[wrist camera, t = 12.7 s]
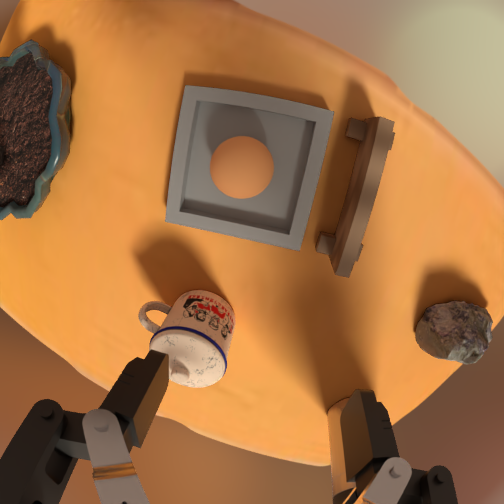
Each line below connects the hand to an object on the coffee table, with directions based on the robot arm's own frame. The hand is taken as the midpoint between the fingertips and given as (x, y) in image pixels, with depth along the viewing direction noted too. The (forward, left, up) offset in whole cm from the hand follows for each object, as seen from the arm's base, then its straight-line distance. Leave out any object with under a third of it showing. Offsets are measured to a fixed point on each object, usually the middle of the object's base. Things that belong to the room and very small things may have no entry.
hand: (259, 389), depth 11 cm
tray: (+7, +1, -23) cm, 24 cm away
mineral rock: (-21, -22, -23) cm, 38 cm away
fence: (+1, -9, -23) cm, 25 cm away
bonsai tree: (+23, +32, -23) cm, 46 cm away
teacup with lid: (-9, +14, -23) cm, 28 cm away
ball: (+7, +1, -19) cm, 21 cm away
